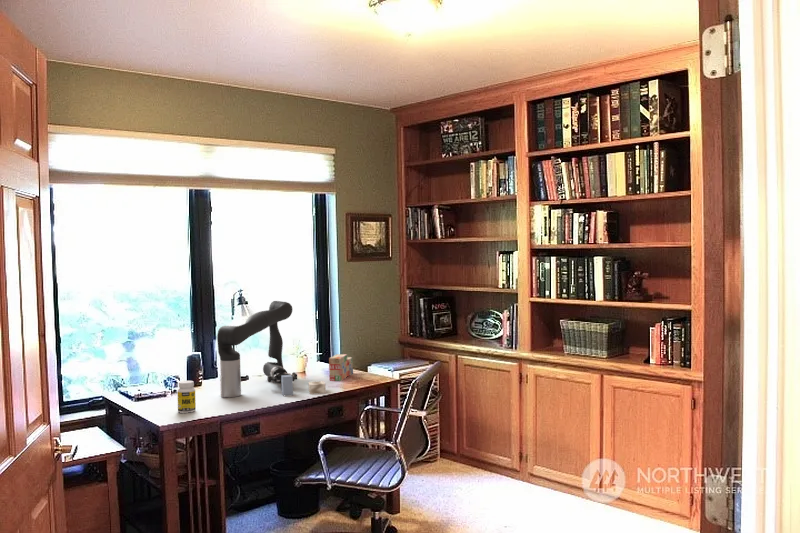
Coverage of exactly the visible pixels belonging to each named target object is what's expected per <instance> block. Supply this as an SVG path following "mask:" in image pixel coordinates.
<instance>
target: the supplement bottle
mask: <svg viewBox="0 0 800 533" xmlns="http://www.w3.org/2000/svg"><path fill="white" fill-rule="evenodd" d="M193 411H194V412H195V411H196V388H195V383H194V381H193V380H182V381H179V382H178V389H177V412H178V413H179V412H180V413H179V414H189V413H188V412H191V413H194V412H193Z"/></svg>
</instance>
